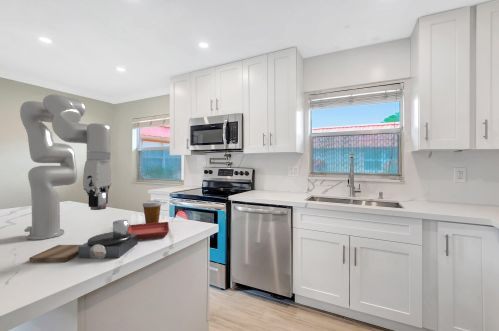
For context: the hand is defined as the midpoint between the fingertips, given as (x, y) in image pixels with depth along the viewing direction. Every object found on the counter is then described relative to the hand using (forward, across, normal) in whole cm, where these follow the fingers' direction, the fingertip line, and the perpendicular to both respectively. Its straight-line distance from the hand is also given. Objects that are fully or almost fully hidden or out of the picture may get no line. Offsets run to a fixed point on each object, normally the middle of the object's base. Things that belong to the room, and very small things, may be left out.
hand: (98, 204), depth 88 cm
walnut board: (+18, +4, -10) cm, 21 cm away
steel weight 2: (+12, 0, +9) cm, 15 cm away
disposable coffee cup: (+18, -36, +6) cm, 41 cm away
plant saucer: (+18, -20, +11) cm, 29 cm away
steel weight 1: (+1, 0, 0) cm, 1 cm away
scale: (+17, 0, +5) cm, 18 cm away
